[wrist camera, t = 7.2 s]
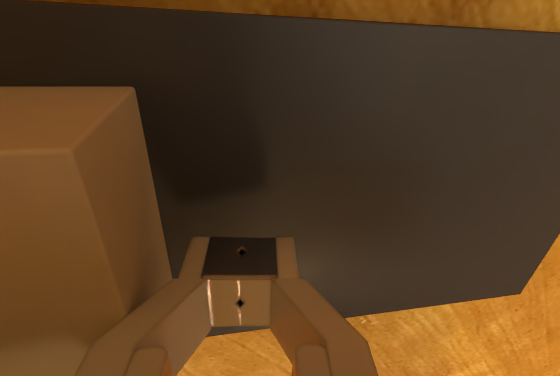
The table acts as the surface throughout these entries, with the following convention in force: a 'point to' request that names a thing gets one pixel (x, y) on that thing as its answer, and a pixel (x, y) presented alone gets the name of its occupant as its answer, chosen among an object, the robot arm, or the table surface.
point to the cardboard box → (72, 223)
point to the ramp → (328, 139)
